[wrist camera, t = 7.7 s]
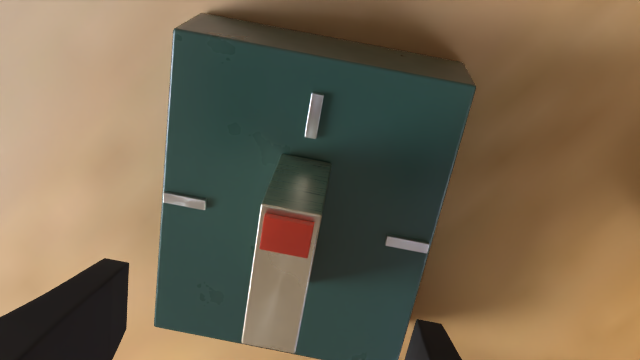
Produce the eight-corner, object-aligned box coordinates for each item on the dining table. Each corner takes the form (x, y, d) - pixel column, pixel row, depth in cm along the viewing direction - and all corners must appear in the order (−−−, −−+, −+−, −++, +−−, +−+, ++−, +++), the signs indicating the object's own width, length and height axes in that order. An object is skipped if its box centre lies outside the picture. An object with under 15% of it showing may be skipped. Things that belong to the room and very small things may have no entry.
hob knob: (308, 284, 21) (294, 360, 17) (262, 275, 21) (238, 349, 17) (332, 162, 19) (321, 220, 15) (281, 153, 19) (258, 208, 15)
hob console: (392, 323, 25) (394, 378, 22) (178, 281, 25) (151, 330, 22) (464, 62, 20) (478, 87, 17) (200, 12, 20) (170, 28, 17)
